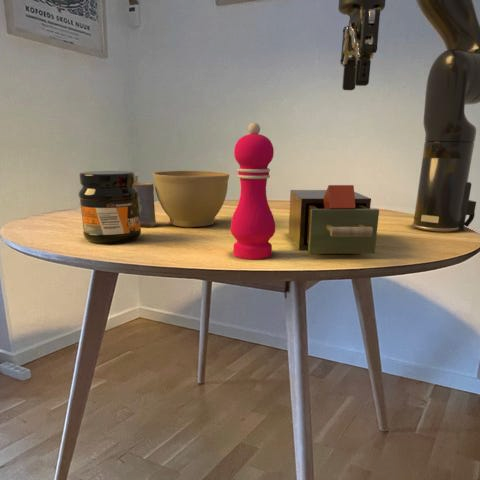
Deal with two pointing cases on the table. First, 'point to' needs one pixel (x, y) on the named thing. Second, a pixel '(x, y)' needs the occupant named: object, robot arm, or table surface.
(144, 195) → the flask
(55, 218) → the table surface
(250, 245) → the pepper mill
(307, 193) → the cabinet
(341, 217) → the drawer
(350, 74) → the robot arm
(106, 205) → the supplement container
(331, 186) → the block
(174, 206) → the planter bowl
